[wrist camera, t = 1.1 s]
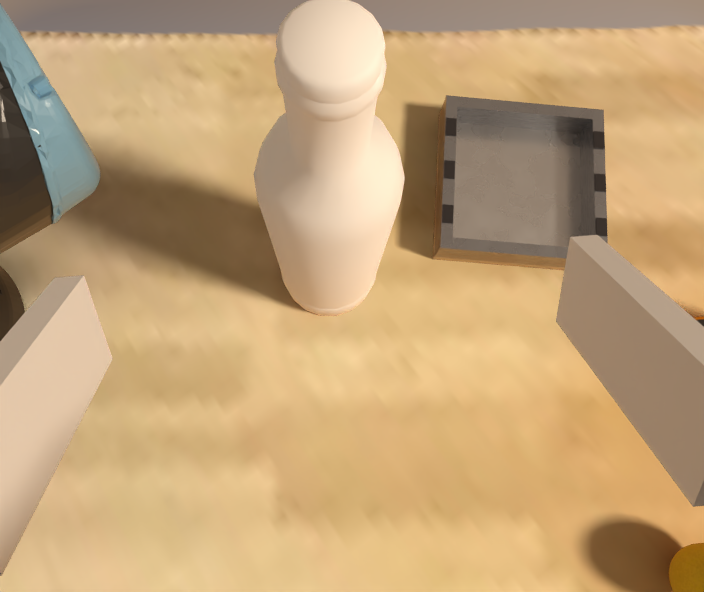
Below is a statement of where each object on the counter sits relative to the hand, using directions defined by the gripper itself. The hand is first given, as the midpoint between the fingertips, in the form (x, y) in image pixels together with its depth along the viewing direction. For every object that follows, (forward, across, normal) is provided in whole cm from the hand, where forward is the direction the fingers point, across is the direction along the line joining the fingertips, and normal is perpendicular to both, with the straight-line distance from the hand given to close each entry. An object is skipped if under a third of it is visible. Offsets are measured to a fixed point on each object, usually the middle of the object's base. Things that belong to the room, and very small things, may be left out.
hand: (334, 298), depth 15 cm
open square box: (+33, +17, -10) cm, 39 cm away
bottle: (+29, 0, -14) cm, 32 cm away
